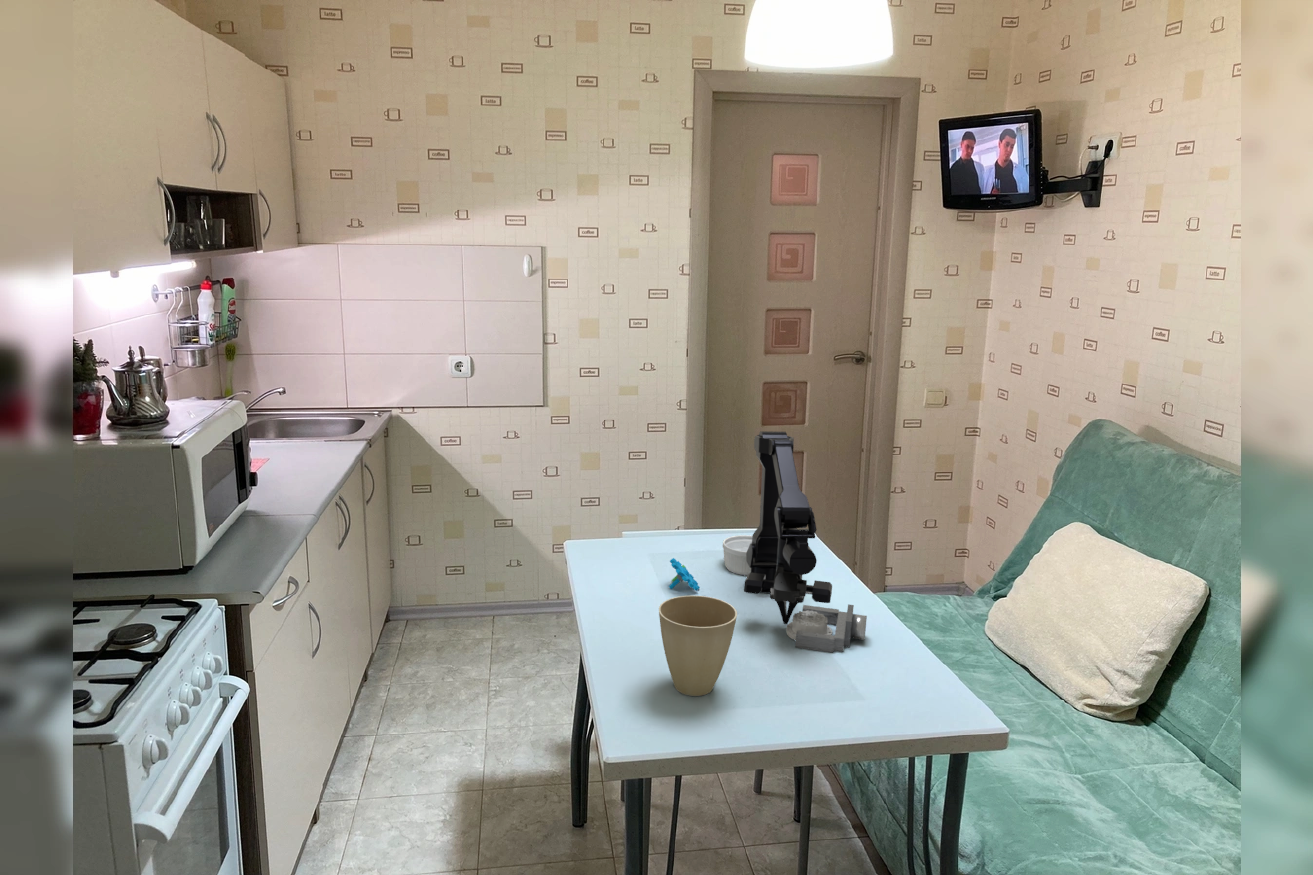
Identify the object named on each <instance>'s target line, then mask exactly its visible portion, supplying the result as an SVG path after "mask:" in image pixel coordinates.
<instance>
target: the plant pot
mask: <svg viewBox="0 0 1313 875" xmlns="http://www.w3.org/2000/svg"><path fill="white" fill-rule="evenodd" d="M737 617H738V611H737V609H736V608H735V607H734V606H733V605H732V604H730V603H729V602H727V601H725V600H722V599H720V598H716V597H713V596H712V597H711V596H705V595H680V596H675V597H671V598H669V599H666V600H664V601H663V602H662V603H660V605H659V606H658V618H659V626H660V634H661V638H662V645H663V650H664V654H665V659H666V663H667V666H668V669H669V673H670V676H671V680H672V683H673V685H674V688H675V689H676V690H677V692H679V693H681V694H682V695H686V696H689V697H702V696H705V695H708V694H710V693H711V692H712V691H713V689H714V687H715V685H716V684H717V681H718V679H719V676H720V675H721V672H722V670H723V667H724V664H725V661H726V659H727V655H728V654H729V651H730V647H731V643H732V641H733V640H732V639H733V636H734V632H735V627H736V623H737Z"/></svg>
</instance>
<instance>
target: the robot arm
mask: <svg viewBox="0 0 1313 875" xmlns="http://www.w3.org/2000/svg"><path fill="white" fill-rule="evenodd" d="M794 439H795V437H793V436H790V435H788V434H787V432H786V431H773V430H771V431H770V430H769V431H767V430H766V431H765V430H764V431H763V430H762V431H759V434H757V435H755V436H754V439H753V448H754V450H755V456H756V458H757V459H758V462H759V464H760V465H761V488H760V489H761V490H760V507H759V508H760V509H759V524H758V527H757V528H756V529H755V531H754V532H753V534H752V535H751V536H752V543H751V544H750V546H749V548H748V550H747V553H746V561H747V563H748V565H749V567H750V568H751V572H750V573H749V574H748V575H746V578H745V581H744V584H743V591H744V592H745V593H747V594H752V595H753V594H754V595H759V594H760V593H764V594H770V595H769V598H770V599H771V600H774V601H775V602H776V604H777V607H778V609H779V613H780V616H781V619H782V622H783V624H784V625H788V624H789V622H790V619H791V617H792V614H793V612H794V609H795V608H796V606H797V605H798V604H802V603H804V601H805V597H806V595H811V599H812V600H813V601H814V602H816V603H822V604H829V603H831V599H832V593H833V584H832V583H831V582H830V581H821V580H814V582H813V585H810V584H808V581H807V579H806V580H805V579H803V575H808V574H810V573H811V572H812V571H813V570H815V567H816V565H817V561H818V560H817V556H816V554H815V553H814V551H813V550H812V548H811V547H810V546H809V543H808V542H809V541H808V540H809V539H815V538H816V532H817V523H816V518H815V512H814V511H813V508H812V506H810V503H809V499H808V496H807V495H806V494H805V493H804V492H803V491H802V490H801V489H800V484H799V481H798V474H797V469H796V464H795V458H794V448H795V447H794V446H795V445H794V444H795V442H794ZM807 528H808V529H807ZM787 603H788V607H787Z"/></svg>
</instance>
